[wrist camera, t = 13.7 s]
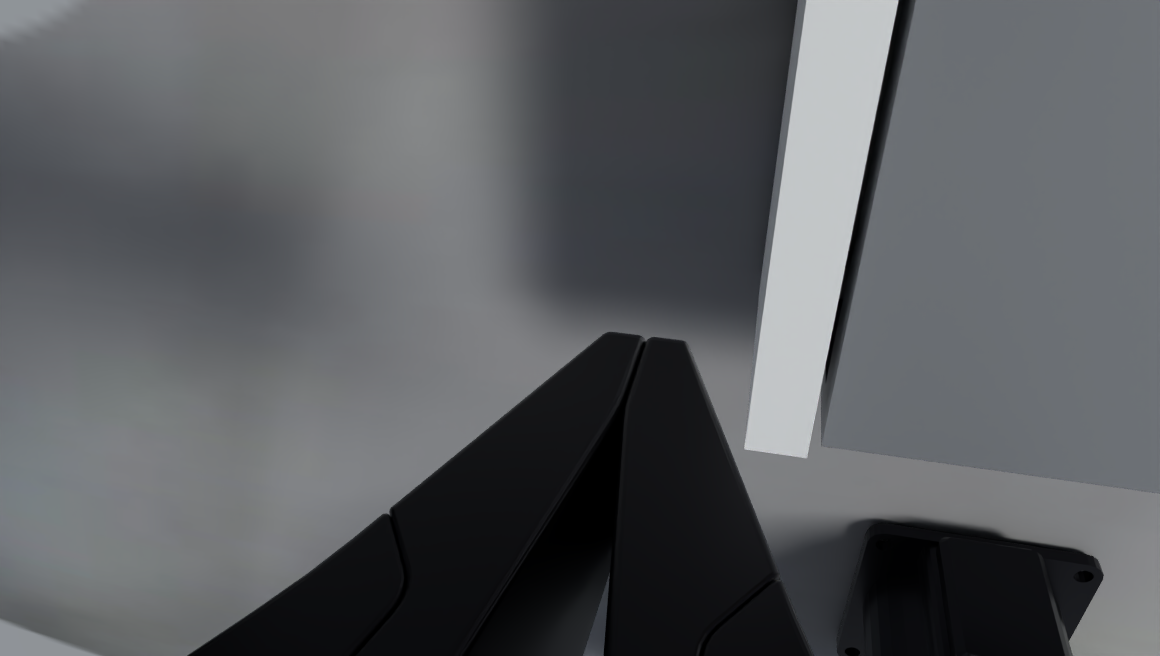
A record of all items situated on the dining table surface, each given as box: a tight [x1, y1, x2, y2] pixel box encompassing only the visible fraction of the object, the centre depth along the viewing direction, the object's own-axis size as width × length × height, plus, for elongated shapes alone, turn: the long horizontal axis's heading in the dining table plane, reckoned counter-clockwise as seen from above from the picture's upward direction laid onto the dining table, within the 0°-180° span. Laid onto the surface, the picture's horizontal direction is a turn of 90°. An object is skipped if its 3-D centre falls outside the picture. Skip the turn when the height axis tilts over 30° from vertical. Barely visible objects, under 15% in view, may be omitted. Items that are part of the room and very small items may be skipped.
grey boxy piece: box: [744, 0, 904, 458], centre depth 14 cm, size 12×11×6 cm
